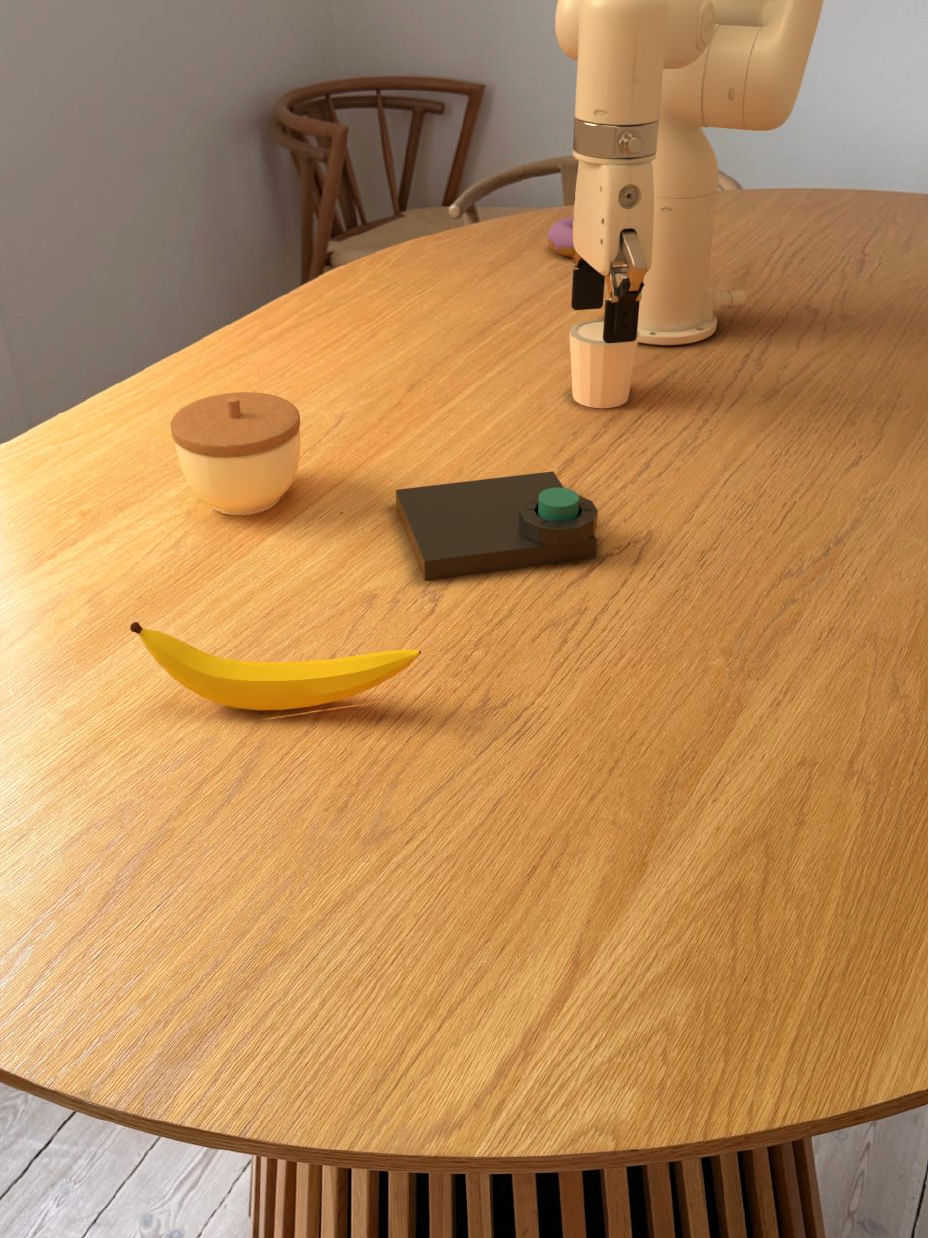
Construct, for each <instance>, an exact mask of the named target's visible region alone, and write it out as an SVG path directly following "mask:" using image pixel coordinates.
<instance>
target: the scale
mask: <svg viewBox="0 0 928 1238" xmlns="http://www.w3.org/2000/svg"><path fill="white" fill-rule="evenodd" d="M549 488H565V487H564V485H563V484H562V483H561V481H560V480H559V478H558V477H557V475H556V473H555V471H554V470H553V471H544V472H543V471H542V472H535V473H527V474H526V473H525V474H519V475H509V476H501V477H492V478H484V479H476V480H466V481H459V482H451V483H442V484H441V483H440V484H433V485H424V486H417V487H416V486H415V487H407V488H398V489H395V503H396V504H395V505H396V511H397V514H398V516H399V519H400V521H401V524H402V526H403V528H404V531H405V534H406V536H407V539H408V541H409V544H410V547H411V550H412V551H413V554H414V557H415V559H416V562H417V564H418V567H419V569H420V572H421V574H422V577H423V579H424V581H425V582H428V581H434V580H442V579H448V578H456V577H457V578H458V577H465V576H471V575H473V576H474V575H480V574H488V573H495V572H503V571H509V570H516V569H517V570H519V569H525V568H532V567H539V566H549V565H555V564H556V565H557V564H562V563H570V562H577V561H585V560H593V559H596V557H597V545H598V543H597V542H598V538H597V536H596V535H595V533H596V531H597V528H598V517H599V510H598V508H597V507H596V505H595V504H594V502H593V501H592V500H591V499H588V498H586V497H583V496H581V495H579V494H578V496H579V511H578V517H577V518H575V519H573V520H571V521H565V522H555V521H548V520H545V519H543V518H541V517H540V516H539V514H538V506H539V494H540V493H541V492H542V491H544V490H546V489H549Z"/></svg>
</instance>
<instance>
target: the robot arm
mask: <svg viewBox="0 0 928 1238" xmlns="http://www.w3.org/2000/svg"><path fill="white" fill-rule="evenodd" d="M824 1H825V0H557V3H556V9H555V18H554V25H555V26H554V27H555V28H554V29H555V35H556V41H557V43H558V45H559V47H560V49H561V50H562V52H563V53H564V54H565V55H566V56H567V57H569V58H570V59H571V60H574V61H576V63H577V64H576V80H575V102H574V122H573V123H574V124H573V138H572V139H573V141H572V157H573V158H574V159H575V160H577V161H578V165H577V174H576V183H575V192H574V203H573V216H572V217H573V245H574V248H575V250H576V252H575V254H574V257H573V258H572V266H573V268H574V269H572V283H571V303H570V306H571V308H572V309H573V310H574V311H585V310H587V311H588V310H599V309H601V308H603V306H604V314H603V320H604V327H603V340H604V341H605V342H606V343H621V342H633V341H635V340H636V338H637V330H638V331H639V338H638V344H644V345H645V344H646V345H653V346H654V345H655V346H680V345H688V344H693V343H698V342H700V341H703V340H705V339H708V338H710V337H711V336H712V335H713V334H714V333H716V329H717V327H718V318H717V315H716V314H715V313H719V312H720V310H721V309H730V310H731V309H740V308H745V307H746V304H747V294H746V291H745V290H743V289H742V290H731V291H729V290H727V288H726V286H715V287H711V286H710V285H708V281H709V272H710V264H711V263H710V262H711V253H712V244H713V234H714V226H715V217H716V209H717V208H716V206H717V197H718V189H719V180H720V179H719V178H720V172H719V171H720V170H719V169H720V168H719V163H718V158H717V156H716V153H715V151H714V149H713V147H712V144H711V143H710V141H709V139H708V137H707V135H706V134H705V132H704V131H703V128H719V129H728V130H741V131H753V132H755V131H756V132H768V131H773V130H776V129H778V128H780V127H782V126H783V125H784V124H785V122H787V120H789V118H790V116H791V114H792V112H793V110H794V107H795V105H796V102H797V100H798V97H799V93H800V90H801V87H802V82H803V79H804V76H805V72H806V68H807V64H808V60H809V57H810V54H811V50H812V46H813V43H814V39H815V36H816V33H817V28H818V26H819V21H820V18H821V14H822V9H823V5H824ZM617 278H622V279H621V281H620V283H619V284H618V282H617ZM605 280H606V281H605ZM605 283H606V287H607V292H608V298H609V299H605V298H604V295H605Z"/></svg>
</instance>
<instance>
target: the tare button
mask: <svg viewBox="0 0 928 1238" xmlns="http://www.w3.org/2000/svg"><path fill="white" fill-rule="evenodd" d="M578 495H579V494H578V493H577V492H576V491H574V490H573V489H570V488H566V487H564V488H549V489H546V490H544V491H542V492H541V493H540V494H539V506H538V514H539V516H540V517H541V518H543V519H545V520H548V521H555V522H565V521H571V520H573V519H575V518H577V517H578V511H579V496H580V495H579V496H578Z"/></svg>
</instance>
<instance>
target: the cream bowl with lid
mask: <svg viewBox="0 0 928 1238" xmlns="http://www.w3.org/2000/svg"><path fill="white" fill-rule="evenodd" d="M300 429H301V415H300V411H299V409H298V408H297V407H296V406H295V405H294V404H293V403H292V402H291V401H289V400H288V399H285V398H284V397H281V396H277V395H273V394H269V393H263V392H253V391H252V392H251V391H242V392H241V391H240V392H239V391H238V392H237V391H236V392H228V393H220V394H214V395H211V396H206V397H203V398H200V399H197V400H194V401H192V402H190V403H188V404H186V405H185V406H183V407H182V408H180V409H179V410H178V411H177V412H176V413H174V415H173V417H172V419H171V421H170V433H171V438H172V439H173V442H174V449H175V453H176V458H177V461H178V464H179V467H180V470H181V472H182V475H183V477H184V479H185V482H186V483H187V485H188V486H189V488H190V489H191V490H192V491H193V492H194V494H195V495H197V497H199V498H200V499H201V500H203V501H204V502H205V503H207V504H208V505H210V507H211V508H212V509H213V510H214V511H216V512H218V513H220V514H223V515H231V516H249V515H255V514H259V513H262V512H266V511H267V510H269V509H271V508H273V507H274V506H276V505H277V504H278V503H279V501H280V499H281V497H283V496H284V495H285V494H286V492H287V491H288V490H289V488H291V485H292V484H293V483H294V480H295V478H296V475H297V473H298V470H299V464H300V457H301V432H300Z"/></svg>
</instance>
